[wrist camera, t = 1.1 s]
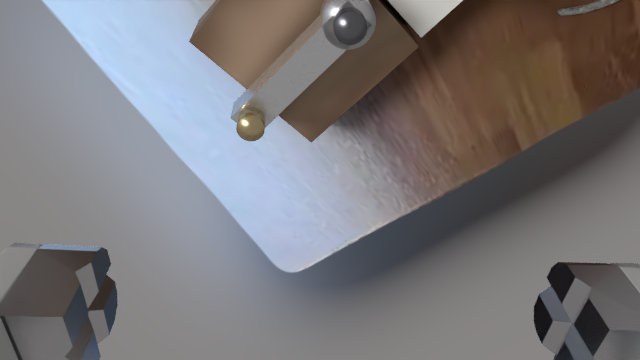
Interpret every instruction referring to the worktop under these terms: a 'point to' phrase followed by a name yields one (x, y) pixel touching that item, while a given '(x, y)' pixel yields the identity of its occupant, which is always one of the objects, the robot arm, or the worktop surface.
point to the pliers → (586, 7)
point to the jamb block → (279, 33)
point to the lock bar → (303, 63)
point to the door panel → (424, 12)
